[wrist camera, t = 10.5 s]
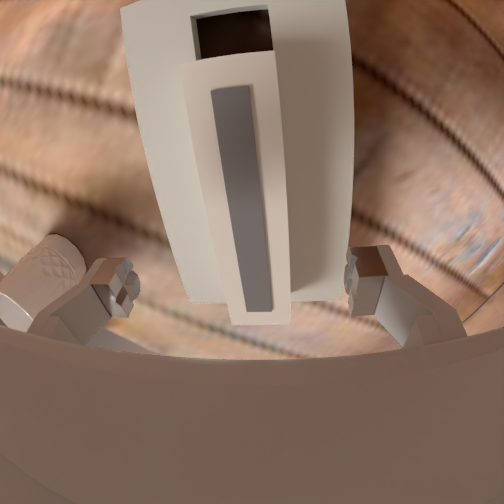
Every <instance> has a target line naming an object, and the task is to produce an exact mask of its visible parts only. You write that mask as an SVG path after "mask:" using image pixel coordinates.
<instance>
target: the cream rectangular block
mask: <svg viewBox="0 0 504 504" xmlns="http://www.w3.org/2000/svg"><path fill="white" fill-rule="evenodd" d="M179 65H180V71H181V78H182V84H183V90H184V97H185V103H186V109H187V114H188V120H189V126H190V131H191V137H192V143H193V148H194V153H195V159H196V164H197V169H198V174H199V179H200V184H201V189H202V194H203V199H204V204H205V209H206V214H207V218H208V223H209V228H210V232H211V237H212V241H213V246H214V251H215V255H216V259H217V264H218V268H219V272H220V277H221V281H222V285H223V290H224V294H225V298H226V302H227V306H228V310H229V314H230V318H231V322H232V325H283V324H291V291H290V256H289V231H288V210H287V192H286V175H285V160H284V146H283V133H282V121H281V109H280V98H279V88H278V78H277V68H276V59H275V51H261V52H250V53H241V54H233V55H226V56H219V57H213V58H207V59H202V60H197V61H192V62H187V63H182V64H179Z"/></svg>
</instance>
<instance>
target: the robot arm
mask: <svg viewBox="0 0 504 504" xmlns="http://www.w3.org/2000/svg"><path fill="white" fill-rule="evenodd" d="M346 259H347V262H348V264H347V265H346V266H345V270H344V285H345V290H346V293H347V294H348V295H349V299H348V304H349V308H350V313H351V316H365V315H374V316H375V318H376V319H377V320H378V321H379V322H380V323H381V324H382V325H383V326H384V327H385V328H386V329H387V330H388V331H389V333H390V334H391V335H392V336H393V337H394V338H395V339H396V340H397V341H398V342H399V343H400V345H401V346H402V349H399V350H392V351H385V352H377V353H369V354H360V355H350V356H338V357H325V358H308V359H284V360H226V359H201V358H185V357H172V356H161V355H151V354H141V353H132V352H125V351H118V350H111V349H104V348H98V347H92V346H86V345H85V344H87V343H88V342H89V341H90V339H91V338H92V337H93V336H94V335H95V334H96V333H97V332H98V331H99V330H100V329H101V328H102V327H103V326H104V325H105V324H106V323H107V322H108V321H109V320H110V319H111V317H119V318H128V317H129V315H130V312H131V310H132V308H133V306H134V305H133V302H132V301H133V300H134V299H136V298H137V297H138V295H139V292H140V280H139V277H138V275H137V274H136V273H135V272H134V271H133V270H132V268H133V264H132V262H131V260H130V259H128V258H99V259H96V260H95V261H94V263H93V264H92V266H91V267H90V269H89V270H88V272H87V273H86V275H85V276H84V278H83V279H82V281H81V282H80V284H76V285H75V286H73V287H72V288H71V289H69V290H68V291H67V292H65V293H64V294H62V295H61V296H60V297H58V298H57V299H56V300H54V301H53V302H52V303H50V304H49V305H48V306H46V307H45V308H44V309H42V310H41V311H40V312H38V314H37V315H36V317H35V319H34V320H33V322H32V324H31V325H30V327H29V329H28V330H27V332H22V331H19V330H15V329H11V328H8V327H4V326H1V325H0V504H504V327H502V328H498V329H495V330H491V331H487V332H484V333H480V334H476V335H472V336H467V334H466V331H465V329H464V327H463V324H462V322H461V320H460V318H459V316H458V313H457V311H456V309H454V308H453V307H452V306H450V305H449V304H448V303H446V302H445V301H444V300H442V299H441V298H440V297H438V296H437V295H435V294H434V293H433V292H431V291H430V290H428V289H427V288H426V287H424V286H423V285H421V284H420V283H419V282H417V281H416V280H414V279H413V278H412V277H410V276H409V275H403V272H402V270H401V268H400V266H399V264H398V262H397V260H396V258H395V256H394V254H393V252H392V250H391V248H390V246H389V245H376V246H367V247H348V249H347V253H346Z"/></svg>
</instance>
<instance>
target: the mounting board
mask: <svg viewBox="0 0 504 504" xmlns="http://www.w3.org/2000/svg"><path fill="white" fill-rule="evenodd" d="M264 9H268V11H269V19H270V26H271V35H272V43H273V51H275V59H276V68H277V78H278V88H279V98H280V109H281V121H282V133H283V146H284V160H285V175H286V192H287V210H288V231H289V256H290V291H291V302H302V301H324V300H341V297H342V291H343V284H344V270H345V266H346V260H347V259H346V253H347V249H348V242H349V231H350V220H351V207H352V191H353V170H354V91H353V71H352V57H351V45H350V35H349V26H348V17H347V10H346V3H345V0H141V1H138V2H135V3H133V4H130V5H128V6H125V7H123V8H120V12H121V22H122V30H123V38H124V46H125V53H126V59H127V66H128V72H129V78H130V84H131V89H132V95H133V100H134V105H135V110H136V115H137V120H138V125H139V129H140V134H141V138H142V143H143V147H144V151H145V155H146V159H147V163H148V167H149V171H150V175H151V179H152V183H153V187H154V191H155V194H156V198H157V201H158V205H159V209H160V212H161V216H162V219H163V222H164V226H165V229H166V232H167V236H168V239H169V242H170V245H171V248H172V252H173V255H174V258H175V261H176V264H177V267H178V270H179V273H180V276H181V279H182V282H183V285H184V288H185V291H186V293H187V296H188V299H189V302H190V303H227V302H226V298H225V294H224V290H223V285H222V281H221V277H220V272H219V268H218V264H217V259H216V255H215V251H214V246H213V241H212V237H211V232H210V228H209V223H208V218H207V214H206V209H205V204H204V199H203V194H202V189H201V184H200V179H199V174H198V169H197V164H196V159H195V153H194V148H193V143H192V137H191V131H190V126H189V120H188V114H187V109H186V103H185V97H184V90H183V84H182V78H181V71H180V65H179V64H182V63H187V62H192V61H197V60H201V53H200V45H199V38H198V31H197V23H196V19H200V18H205V17H210V16H216V15H222V14H229V13H236V12H244V11H253V10H264Z"/></svg>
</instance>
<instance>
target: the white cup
mask: <svg viewBox="0 0 504 504" xmlns="http://www.w3.org/2000/svg"><path fill="white" fill-rule="evenodd" d="M86 270H87V269H86V265H85V261H84V258H83V257H82V255H81V253H80V252H79V250H78V249H77V247H76V246H75V245H73V244H72V243H71V242H70V241H69V240H68V239H67V238H64V237H62V236H60V235H58V234H52V235H47V236H46V237H45V238H44V239H43V240H42V241H41V242H40V243H39V244H38V245H37V246H35V248H33V249H31V250H30V251H29V252H28V253H27V254H26V255H25V256H24V257H22V258H21V259H20V260H19V261H18V263H17V264H16V265H15V266H14V267H13V268H12V269H11V270H10V271H9V272H8V273H7V274H6V275H5V276H4V278H3V279H2V280H1V281H0V318H1V319H2V321H3V322H4V323H5V324H6V325H7V326H8V327H9V328H11V329H15V330H19V331H22V332H27V330H28V329H29V327H30V325H31V324H32V322H33V320H34V319H35V317H36V315H37V314H38V312H40V311H41V310H42V309H44V308H45V307H46V306H48V305H49V304H50V303H52V302H53V301H54V300H56V299H57V298H58V297H60V296H61V295H62V294H64V293H65V292H67V291H68V290H69V289H71V288H72V287H73V286H75V285H76V284H80V282H81V281H82V279H83V278H84V276H85V274H86Z"/></svg>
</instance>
